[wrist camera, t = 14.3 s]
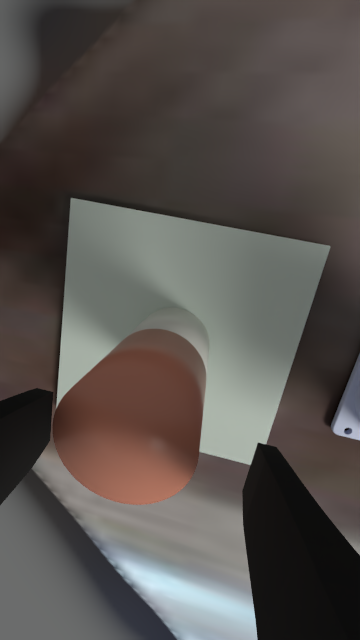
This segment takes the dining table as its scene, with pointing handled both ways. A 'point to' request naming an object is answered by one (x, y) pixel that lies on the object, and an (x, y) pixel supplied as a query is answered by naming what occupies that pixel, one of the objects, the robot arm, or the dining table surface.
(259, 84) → the dining table surface
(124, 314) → the baseplate
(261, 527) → the robot arm
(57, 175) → the dining table surface
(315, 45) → the dining table surface
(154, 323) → the off-white rounded cylinder
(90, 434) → the pink rounded piece
